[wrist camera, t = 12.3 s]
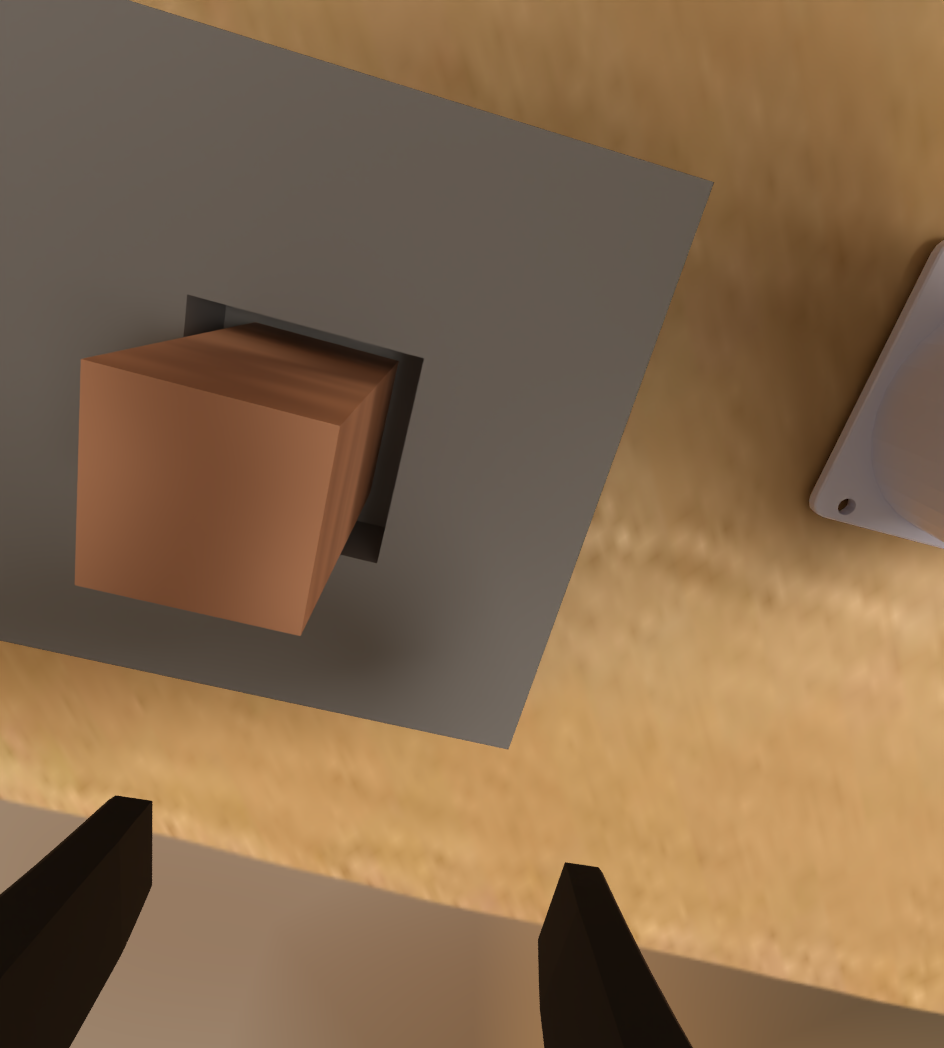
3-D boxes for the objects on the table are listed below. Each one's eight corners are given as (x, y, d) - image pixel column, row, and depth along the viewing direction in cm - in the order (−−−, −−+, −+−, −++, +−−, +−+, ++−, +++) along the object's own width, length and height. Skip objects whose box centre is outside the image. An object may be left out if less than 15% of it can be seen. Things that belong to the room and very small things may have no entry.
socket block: (672, 198, 16) (713, 182, 13) (504, 689, 22) (508, 749, 19) (40, 4, 15) (-63, -60, 12) (39, 585, 20) (-30, 633, 18)
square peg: (398, 360, 17) (339, 426, 10) (370, 492, 19) (300, 636, 11) (255, 322, 17) (81, 359, 9) (237, 459, 18) (74, 584, 11)
